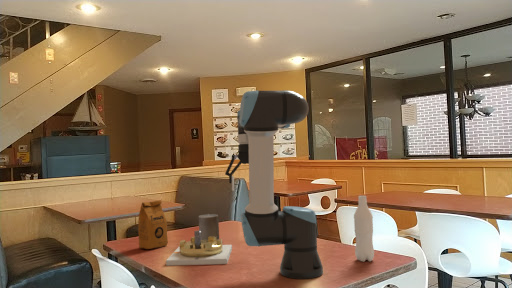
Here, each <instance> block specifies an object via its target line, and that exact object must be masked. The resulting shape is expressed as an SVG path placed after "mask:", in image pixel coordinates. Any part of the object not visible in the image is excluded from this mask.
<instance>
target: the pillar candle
mask: <svg viewBox="0 0 512 288" xmlns="http://www.w3.org/2000/svg"><path fill="white" fill-rule="evenodd" d="M219 225H220V220H219V214H216V213H211V214H210V212H208V213H207V214H201V215H198V231H201V240H208V237H210V236H215V237H216V240H217V239H220V226H219Z"/></svg>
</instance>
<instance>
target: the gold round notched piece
mask: <svg viewBox="0 0 512 288" xmlns="http://www.w3.org/2000/svg"><path fill="white" fill-rule="evenodd" d="M193 232H194V236H192V237H190V240H188V241H187V240H186V239H181V240H180V241H179V246H180V254H181V255H183V256H188V257H204V256H211V255H215V254H218V253H220V252H222V250H223V249H222V245H223V238H219V239H217V240H216V237H215V236H210V237H208V240H201V231H199V230H194V231H193Z"/></svg>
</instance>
